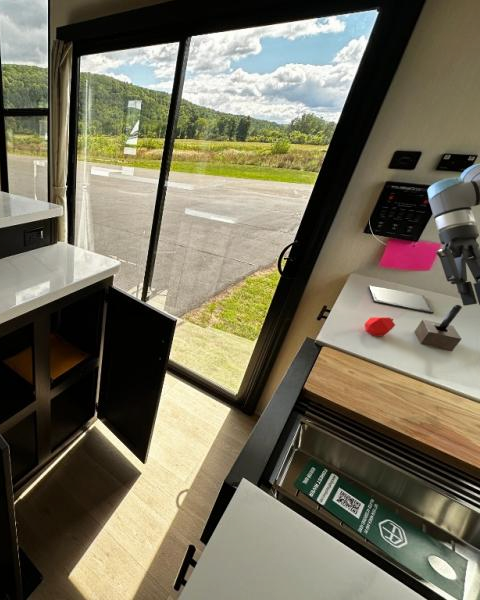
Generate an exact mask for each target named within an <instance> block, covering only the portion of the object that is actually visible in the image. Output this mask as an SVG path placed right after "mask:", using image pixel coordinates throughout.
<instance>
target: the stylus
mask: <svg viewBox="0 0 480 600" xmlns="http://www.w3.org/2000/svg"><path fill="white" fill-rule="evenodd" d="M462 308H463V306H462V305H460V304H455V305H454V306H453V307H452V308H451V310H450V311H449V312H448V314H447V315H446V316H445V317H444V319H443V321H441V322H440V323H441V324H440V326H439V327H438V328H437V330H439V331H445V329H446V328H447V327H448V325H451V323H452V322H453V321H454V319H455V318H456V316H457V315H458V314H459V312H460V311H461V310H462Z"/></svg>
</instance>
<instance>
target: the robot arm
mask: <svg viewBox="0 0 480 600" xmlns="http://www.w3.org/2000/svg"><path fill="white" fill-rule="evenodd" d="M427 196H428V203H429V205H430V209H431V212H432V215H433V219H434V222H435V225H436V229H437V232H438V238H439V242H440V244H441V245H443V246H444V247H443V248H441V249H437V250H436V251H435V254H436V255H437V257H438V258H439V261H440V264H441V267H442V270H443V273H444V276H445V279H446V281H447V282H449V283H450V284H451V285H455V286H456V289H457V292H458V294H459V295H460V298H461V302H462V305H463V306H464V307H465V306H466V307H467V306H472V305H479V306H480V244H479V243H478V241H477V239H478V238H479V237H480V233H479V229H478V227H477V224H476V223H477V221H476V218H475V216H474V212H473V210H472V207H476V206H480V163H475V164H473V165H470V166H469V167H467V168H466V169H464V170H463V172H461V174H460V176H455V177H448V178H444V179H442V180H439V181H436V182H435V183H432V185H430V186H429V187H428V188H427ZM475 224H476V225H475ZM467 268H468V269H469V271H470V273H471V275H472V277H473V279H474V281H475V283H472V281H468V272H467V271H468V270H467ZM463 306H462V307H463Z"/></svg>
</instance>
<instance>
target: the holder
mask: <svg viewBox="0 0 480 600" xmlns="http://www.w3.org/2000/svg"><path fill="white" fill-rule="evenodd" d="M441 323H442V322H437V321H431V320H427V319H421V321H420V323H419V324H418V325H417V326H416V329H414V334H415V336H416V338H417V339H418V343H419V344H420V345H424V346H428V347H431V348H436V349H440V350H445V351H449V352H453V351H454V349H455V348H456V347H457V345H458V344H459V343H460V342H461V340H462V337H461V335H460V334H459V332H458V331H457V329H456V328H455V326H454V325H451V324H449V325H448V327H447V328H446V329H445V331H439V330H437V328H438V327H439V326H440V324H441Z"/></svg>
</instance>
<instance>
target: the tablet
mask: <svg viewBox="0 0 480 600" xmlns="http://www.w3.org/2000/svg"><path fill="white" fill-rule="evenodd" d="M368 289H369V290H368V291H369V293H370V295H371V298H372V301H373V303H377V304H382V305H387V306H391V307H397V308H401V309H407V310H411V311H416V312H422V313H427V314H432V315H433V314H434V313H435V312H434V310H433V309H432V307H431V305H430V303H429V302H428V299H426V297H425V295H424V294H418V293H413V292H407V291H401V290H395V289H390V288H385V287H379V286H373V285H368Z"/></svg>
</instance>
